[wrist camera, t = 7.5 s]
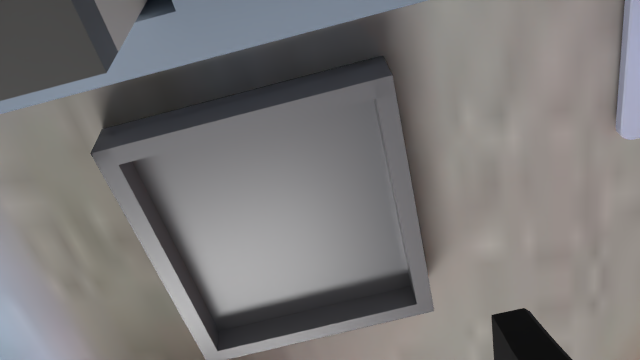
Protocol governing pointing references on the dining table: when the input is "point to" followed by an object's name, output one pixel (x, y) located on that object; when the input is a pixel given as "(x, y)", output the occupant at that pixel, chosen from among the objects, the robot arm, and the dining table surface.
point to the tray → (276, 209)
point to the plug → (60, 41)
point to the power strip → (208, 35)
